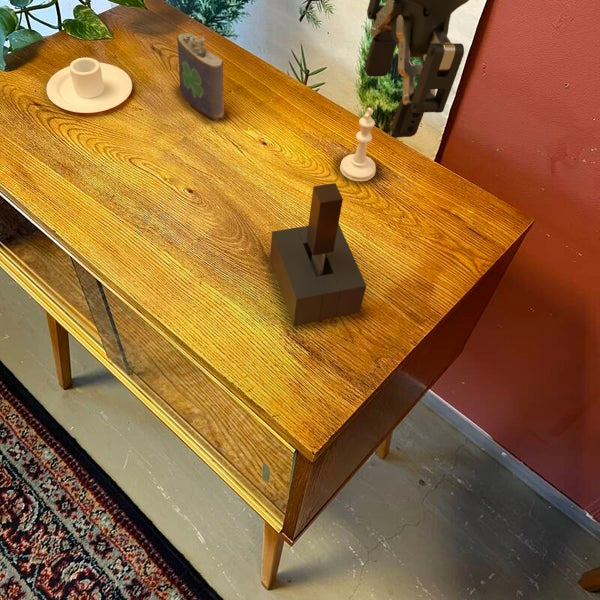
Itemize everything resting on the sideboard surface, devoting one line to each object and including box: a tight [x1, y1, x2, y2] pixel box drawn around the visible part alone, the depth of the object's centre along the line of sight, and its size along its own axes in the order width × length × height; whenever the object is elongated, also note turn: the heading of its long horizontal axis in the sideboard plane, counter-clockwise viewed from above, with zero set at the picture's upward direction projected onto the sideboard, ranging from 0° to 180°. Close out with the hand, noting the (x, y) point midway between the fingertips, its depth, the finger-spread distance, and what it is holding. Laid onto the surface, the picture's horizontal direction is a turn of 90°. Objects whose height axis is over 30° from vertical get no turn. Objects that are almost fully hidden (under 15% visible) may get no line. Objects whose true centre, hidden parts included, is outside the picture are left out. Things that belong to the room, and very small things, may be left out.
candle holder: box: [46, 57, 133, 114], centre depth 95 cm, size 12×12×4 cm
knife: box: [307, 182, 344, 277], centre depth 72 cm, size 2×3×15 cm
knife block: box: [269, 223, 367, 327], centre depth 76 cm, size 8×10×5 cm
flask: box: [176, 32, 225, 122], centre depth 93 cm, size 9×3×11 cm, turn 40°
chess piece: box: [339, 107, 377, 182], centre depth 87 cm, size 5×5×10 cm
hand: (388, 103), depth 62 cm, fingers open, 8 cm apart
